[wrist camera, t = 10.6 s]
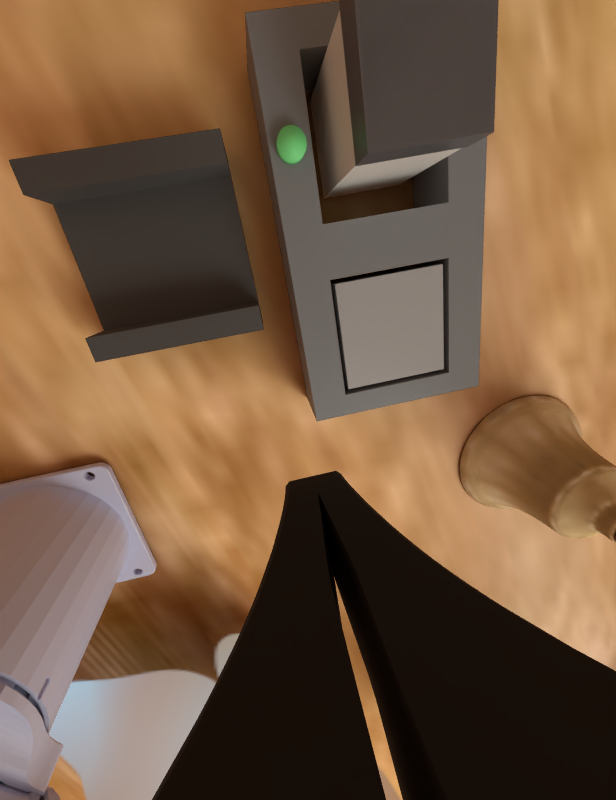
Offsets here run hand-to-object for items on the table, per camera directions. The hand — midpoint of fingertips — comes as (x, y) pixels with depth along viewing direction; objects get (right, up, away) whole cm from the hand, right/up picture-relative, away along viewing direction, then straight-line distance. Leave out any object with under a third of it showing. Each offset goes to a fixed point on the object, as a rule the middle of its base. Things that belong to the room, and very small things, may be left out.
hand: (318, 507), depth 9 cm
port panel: (+2, +10, +7) cm, 13 cm away
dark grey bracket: (-6, +9, +6) cm, 13 cm away
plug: (+2, +14, +6) cm, 15 cm away
